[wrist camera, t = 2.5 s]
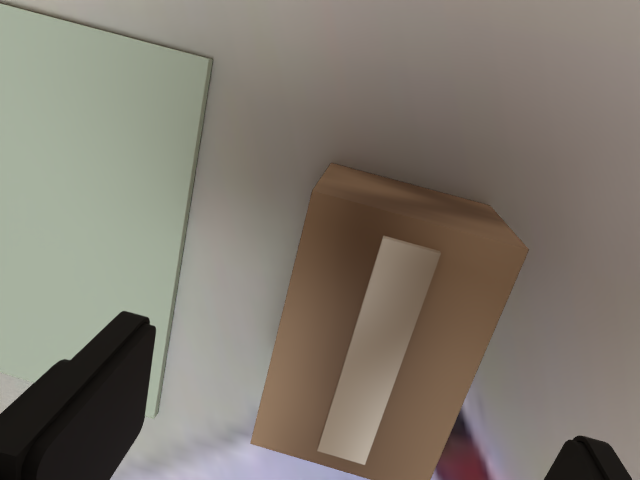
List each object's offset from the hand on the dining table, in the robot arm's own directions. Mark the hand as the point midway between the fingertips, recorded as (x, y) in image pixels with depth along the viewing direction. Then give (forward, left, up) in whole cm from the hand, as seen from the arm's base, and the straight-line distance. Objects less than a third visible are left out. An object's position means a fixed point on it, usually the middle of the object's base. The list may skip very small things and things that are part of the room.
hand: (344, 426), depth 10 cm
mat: (+15, +2, -9) cm, 18 cm away
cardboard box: (-1, 0, -9) cm, 9 cm away
